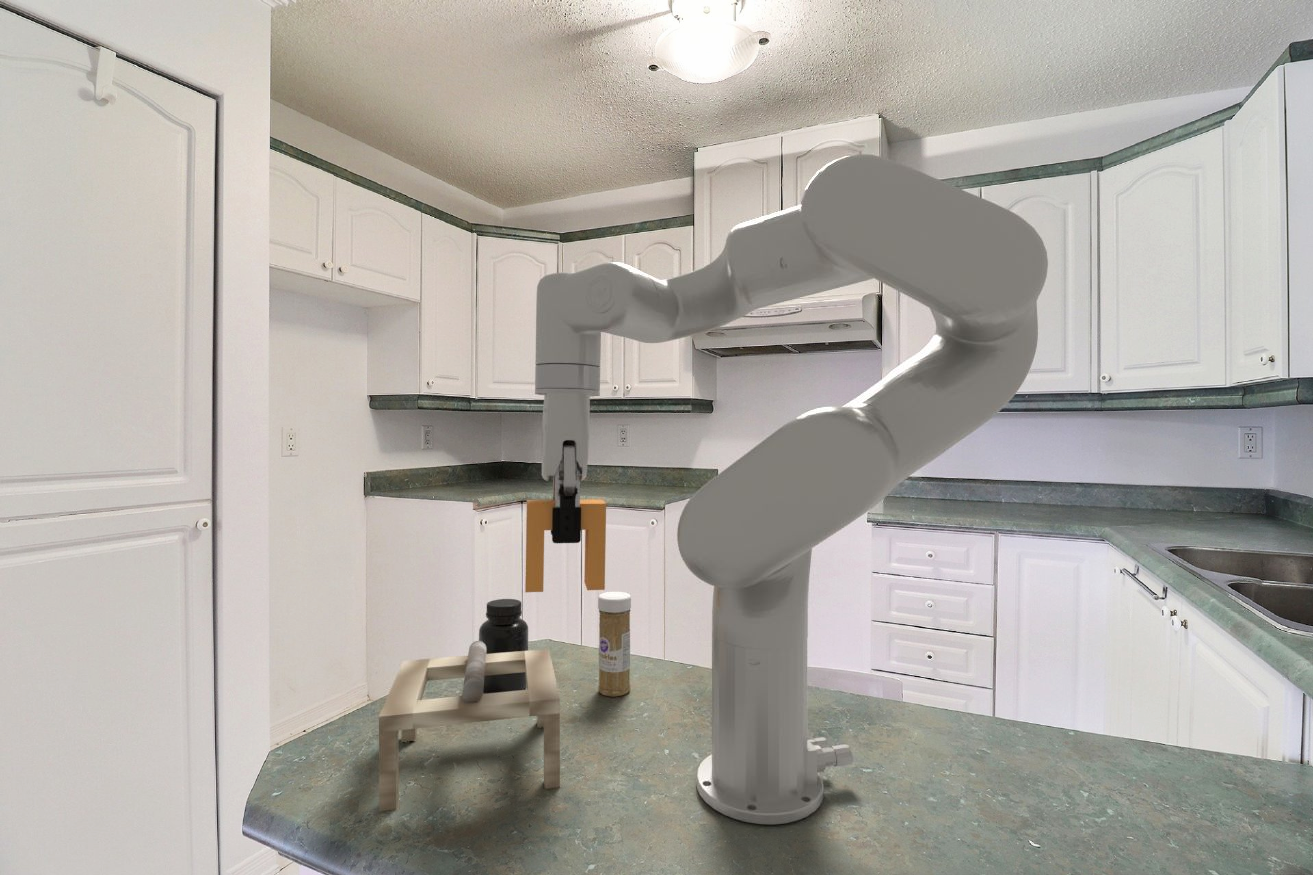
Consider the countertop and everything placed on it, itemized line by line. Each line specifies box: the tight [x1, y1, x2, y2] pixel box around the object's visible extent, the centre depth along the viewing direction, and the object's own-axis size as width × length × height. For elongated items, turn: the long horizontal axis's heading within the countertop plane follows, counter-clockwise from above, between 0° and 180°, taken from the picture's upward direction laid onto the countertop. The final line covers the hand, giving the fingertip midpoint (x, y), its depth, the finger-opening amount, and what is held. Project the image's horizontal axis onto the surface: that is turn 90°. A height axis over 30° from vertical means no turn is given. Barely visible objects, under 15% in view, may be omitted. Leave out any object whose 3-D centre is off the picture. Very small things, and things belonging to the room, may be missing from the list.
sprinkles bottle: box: [597, 591, 632, 698], centre depth 87 cm, size 5×5×14 cm
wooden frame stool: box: [378, 640, 561, 812], centre depth 69 cm, size 17×15×11 cm
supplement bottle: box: [478, 598, 529, 694], centre depth 88 cm, size 7×7×12 cm
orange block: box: [524, 499, 607, 593], centre depth 73 cm, size 9×4×10 cm, turn 101°
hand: (565, 537), depth 73 cm, fingers closed on orange block, 4 cm apart
